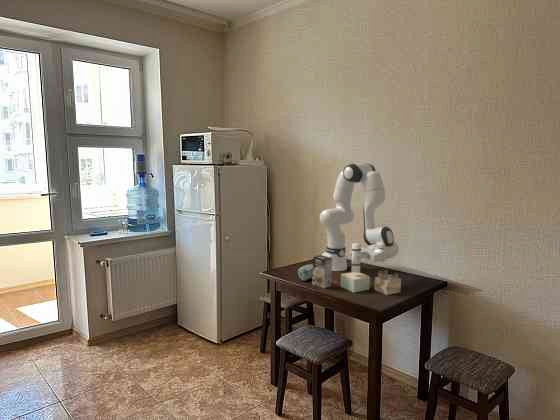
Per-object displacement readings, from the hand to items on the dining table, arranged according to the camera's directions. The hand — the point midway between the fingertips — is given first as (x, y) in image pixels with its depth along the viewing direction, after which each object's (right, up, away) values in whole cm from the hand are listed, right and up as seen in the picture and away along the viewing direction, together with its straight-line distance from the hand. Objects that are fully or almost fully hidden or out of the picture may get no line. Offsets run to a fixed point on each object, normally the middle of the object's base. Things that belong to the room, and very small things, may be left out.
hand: (355, 255), depth 208 cm
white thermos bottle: (+1, -9, +1) cm, 9 cm away
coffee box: (-17, -18, +6) cm, 25 cm away
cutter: (-6, -18, +6) cm, 19 cm away
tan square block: (+17, -19, -2) cm, 25 cm away
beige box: (0, -18, +3) cm, 18 cm away
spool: (-24, -16, +19) cm, 34 cm away
